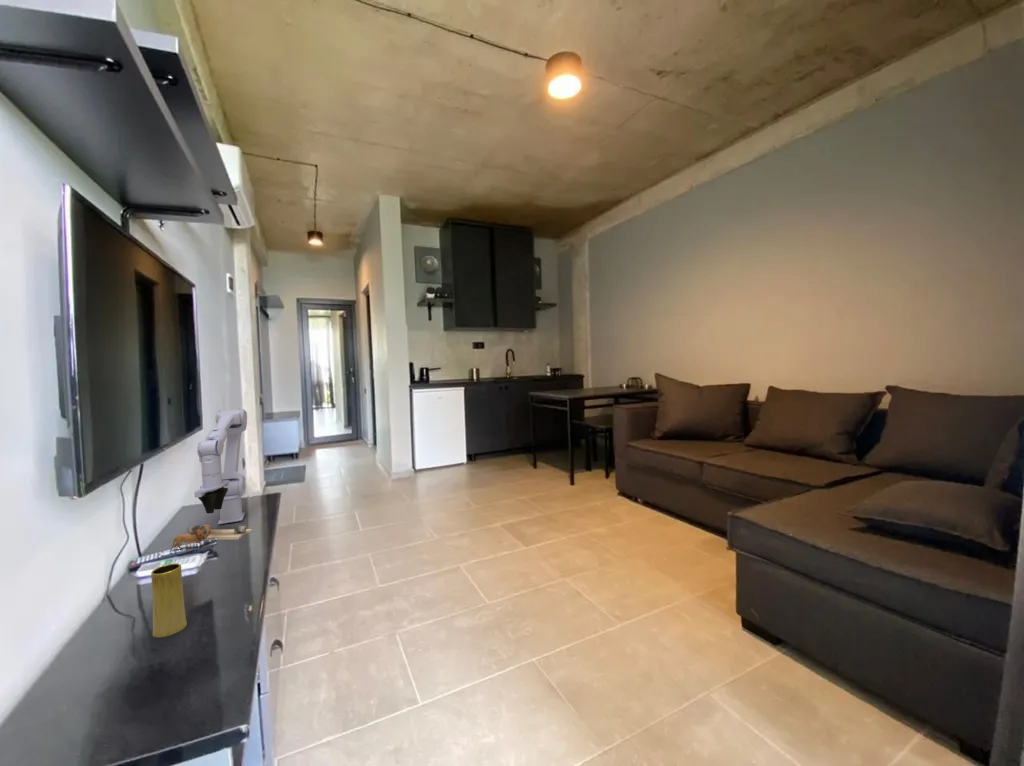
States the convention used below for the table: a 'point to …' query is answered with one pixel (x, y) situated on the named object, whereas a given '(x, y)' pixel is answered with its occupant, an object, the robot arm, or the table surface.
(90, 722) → the table surface
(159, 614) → the vase
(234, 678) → the table surface
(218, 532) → the shaft rig
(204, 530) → the lion figurine
